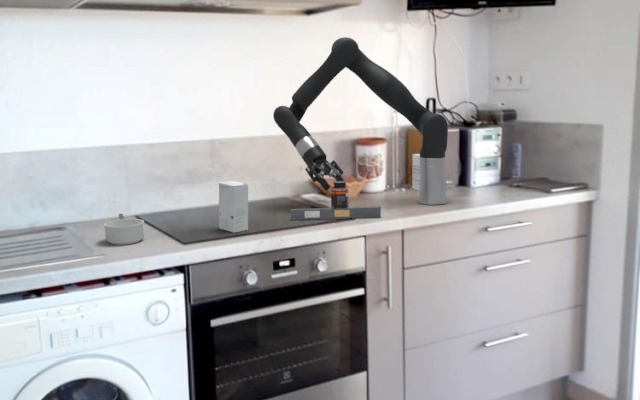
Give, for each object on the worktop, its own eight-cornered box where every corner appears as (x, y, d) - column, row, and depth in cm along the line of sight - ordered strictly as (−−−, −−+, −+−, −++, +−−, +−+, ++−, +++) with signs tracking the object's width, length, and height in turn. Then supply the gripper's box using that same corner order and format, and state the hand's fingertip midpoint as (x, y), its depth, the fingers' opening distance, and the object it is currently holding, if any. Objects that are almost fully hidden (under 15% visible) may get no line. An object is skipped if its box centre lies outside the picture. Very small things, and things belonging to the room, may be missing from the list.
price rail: (380, 216, 216) (380, 206, 215) (380, 217, 214) (380, 207, 213) (290, 219, 214) (290, 209, 213) (291, 220, 212) (290, 210, 211)
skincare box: (218, 229, 201) (216, 182, 198) (234, 226, 205) (232, 180, 202) (234, 233, 195) (232, 185, 192) (250, 230, 199) (248, 182, 196)
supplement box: (430, 187, 274) (431, 152, 272) (441, 190, 266) (441, 154, 263) (411, 188, 272) (411, 153, 269) (421, 192, 263) (421, 155, 260)
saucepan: (140, 229, 202) (139, 212, 201) (147, 243, 184) (146, 224, 183) (102, 233, 198) (101, 215, 197) (105, 247, 180) (103, 228, 179)
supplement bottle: (352, 214, 218) (352, 181, 216) (337, 216, 215) (337, 183, 213) (341, 212, 223) (341, 179, 221) (327, 213, 220) (327, 181, 218)
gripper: (302, 146, 216) (328, 183, 211) (329, 143, 227) (355, 177, 221) (291, 161, 220) (316, 197, 215) (318, 157, 231) (343, 191, 226)
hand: (336, 187), depth 218 cm, fingers open, 8 cm apart
